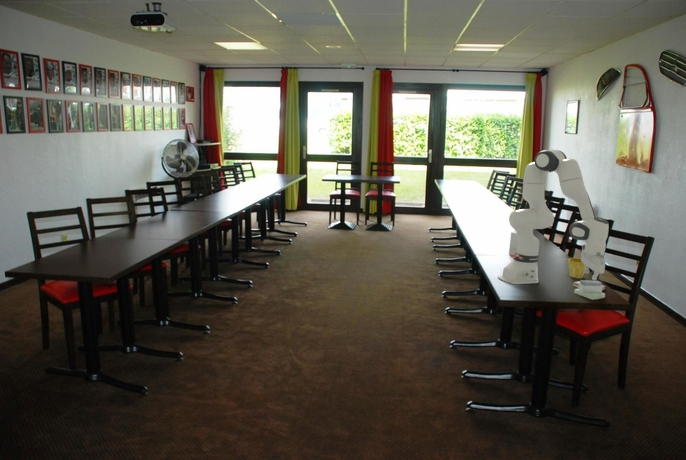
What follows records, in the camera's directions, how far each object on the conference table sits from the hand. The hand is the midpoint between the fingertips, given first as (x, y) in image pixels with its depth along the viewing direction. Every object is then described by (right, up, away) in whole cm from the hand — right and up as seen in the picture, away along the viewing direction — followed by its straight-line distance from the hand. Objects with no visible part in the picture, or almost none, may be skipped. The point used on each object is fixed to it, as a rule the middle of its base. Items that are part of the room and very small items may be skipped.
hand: (590, 276), depth 274 cm
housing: (0, -8, +1) cm, 8 cm away
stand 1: (+6, -7, +14) cm, 17 cm away
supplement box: (-11, +7, +79) cm, 81 cm away
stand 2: (0, -10, +1) cm, 10 cm away
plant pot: (+7, -3, +34) cm, 35 cm away
